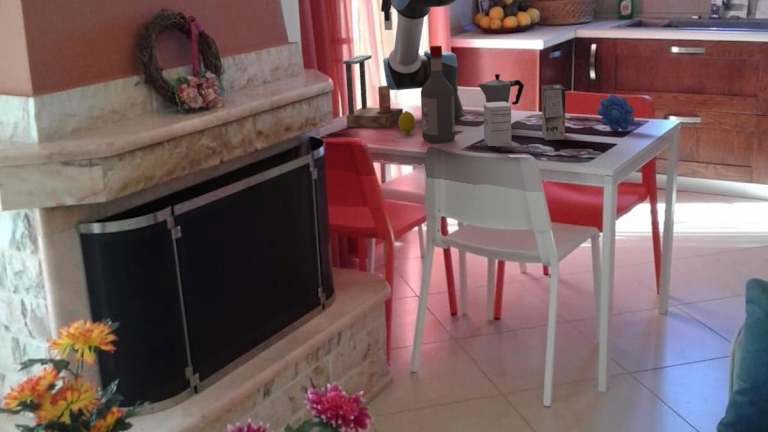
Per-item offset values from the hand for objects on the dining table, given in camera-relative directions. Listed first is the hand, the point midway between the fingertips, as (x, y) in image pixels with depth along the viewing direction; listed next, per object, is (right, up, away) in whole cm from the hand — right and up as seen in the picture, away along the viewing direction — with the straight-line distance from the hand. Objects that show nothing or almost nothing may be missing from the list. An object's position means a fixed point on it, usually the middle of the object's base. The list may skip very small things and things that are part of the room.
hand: (395, 27), depth 330 cm
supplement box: (+31, -47, -51) cm, 77 cm away
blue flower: (+70, -43, -44) cm, 93 cm away
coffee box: (+50, -45, -46) cm, 81 cm away
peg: (-4, -37, -13) cm, 39 cm away
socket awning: (-6, -36, -12) cm, 39 cm away
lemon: (+4, -43, -32) cm, 54 cm away
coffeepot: (+36, -40, -28) cm, 60 cm away
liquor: (+14, -45, -42) cm, 63 cm away
